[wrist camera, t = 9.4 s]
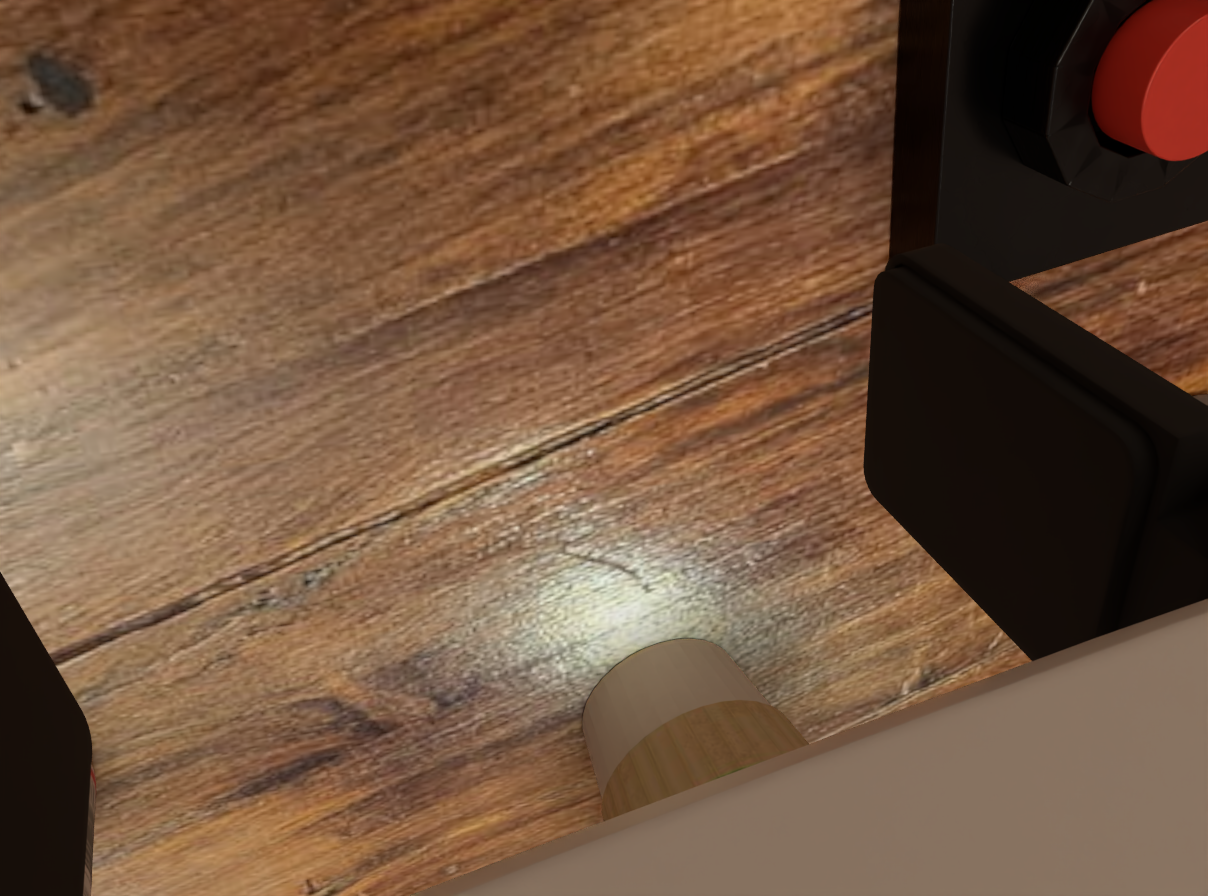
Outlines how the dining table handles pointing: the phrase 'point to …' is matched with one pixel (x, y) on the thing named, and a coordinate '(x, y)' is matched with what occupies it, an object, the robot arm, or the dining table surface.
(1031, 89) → the switch block
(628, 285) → the dining table surface
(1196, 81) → the button
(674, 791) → the coffee cup
